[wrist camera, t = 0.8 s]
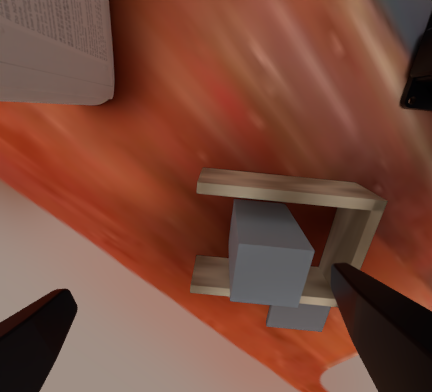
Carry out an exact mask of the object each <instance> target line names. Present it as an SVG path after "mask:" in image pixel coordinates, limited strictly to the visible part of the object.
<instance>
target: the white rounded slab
mask: <svg viewBox="0 0 432 392" xmlns="http://www.w3.org/2000/svg"><path fill="white" fill-rule="evenodd" d="M114 81H115V79H114V59H113V46H112V33H111V21H110V9H109V0H0V101H11V102H32V103H52V104H73V105H99V104H102V103H104V102H106V101H107V100H108V99H112V98H113V95H114Z"/></svg>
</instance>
